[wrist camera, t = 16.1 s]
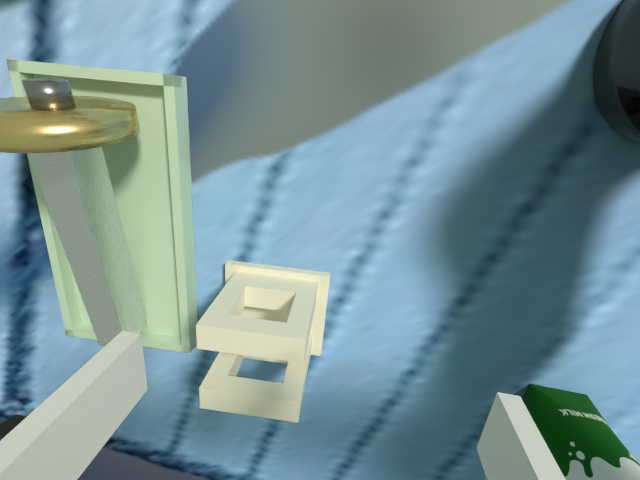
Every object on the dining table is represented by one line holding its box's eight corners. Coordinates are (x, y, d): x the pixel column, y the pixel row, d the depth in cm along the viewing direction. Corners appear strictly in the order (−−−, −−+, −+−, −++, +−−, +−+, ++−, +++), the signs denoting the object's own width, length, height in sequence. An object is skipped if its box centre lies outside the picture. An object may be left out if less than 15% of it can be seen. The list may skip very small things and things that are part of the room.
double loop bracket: (228, 260, 39) (181, 315, 29) (330, 272, 39) (321, 334, 28) (228, 338, 43) (187, 412, 33) (321, 350, 43) (310, 430, 32)
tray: (186, 77, 33) (173, 74, 30) (198, 340, 44) (190, 353, 42) (30, 62, 34) (6, 59, 31) (81, 324, 45) (66, 335, 42)
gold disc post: (36, 68, 32) (-117, 80, 22) (158, 80, 32) (59, 98, 21) (108, 296, 46) (36, 368, 36) (193, 307, 46) (144, 384, 35)
